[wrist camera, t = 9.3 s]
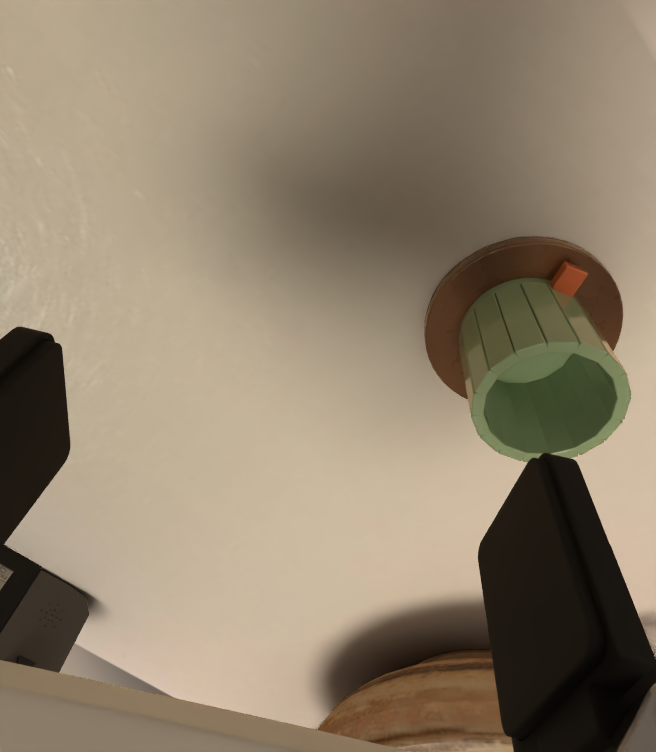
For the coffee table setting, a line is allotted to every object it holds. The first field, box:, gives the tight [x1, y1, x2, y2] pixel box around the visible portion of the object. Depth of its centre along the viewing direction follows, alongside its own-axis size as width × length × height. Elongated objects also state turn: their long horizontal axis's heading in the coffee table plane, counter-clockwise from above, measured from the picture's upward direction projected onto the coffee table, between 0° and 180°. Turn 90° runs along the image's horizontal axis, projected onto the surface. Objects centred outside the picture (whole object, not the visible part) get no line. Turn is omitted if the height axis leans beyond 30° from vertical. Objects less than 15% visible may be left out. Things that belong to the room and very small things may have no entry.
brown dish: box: [425, 237, 623, 399], centre depth 26 cm, size 9×9×1 cm
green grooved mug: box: [459, 261, 631, 462], centre depth 23 cm, size 6×7×6 cm
